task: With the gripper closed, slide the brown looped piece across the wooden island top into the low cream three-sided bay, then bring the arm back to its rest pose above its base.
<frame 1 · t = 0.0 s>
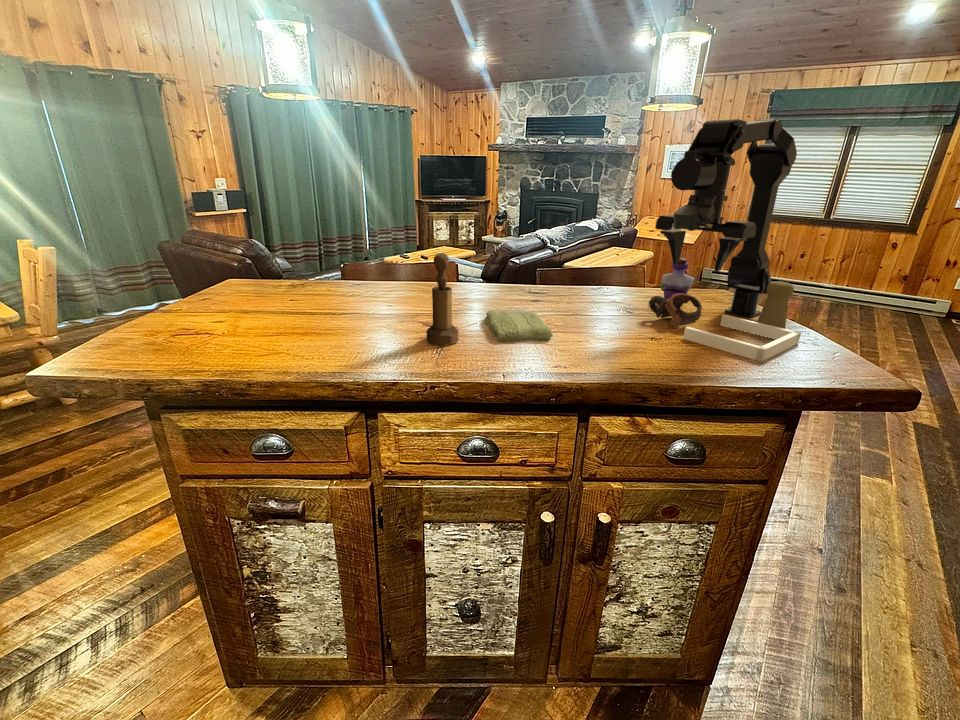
hand: (695, 268, 99), 15 cm above the countertop, tool pointing down, fingers open, 9 cm apart
brown looped piece: (671, 323, 113), on the countertop
washcloth: (516, 331, 106), on the countertop
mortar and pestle: (442, 341, 98), on the countertop
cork: (769, 329, 109), on the countertop
potion bottle: (673, 302, 131), on the countertop
cream bay: (737, 340, 101), on the countertop
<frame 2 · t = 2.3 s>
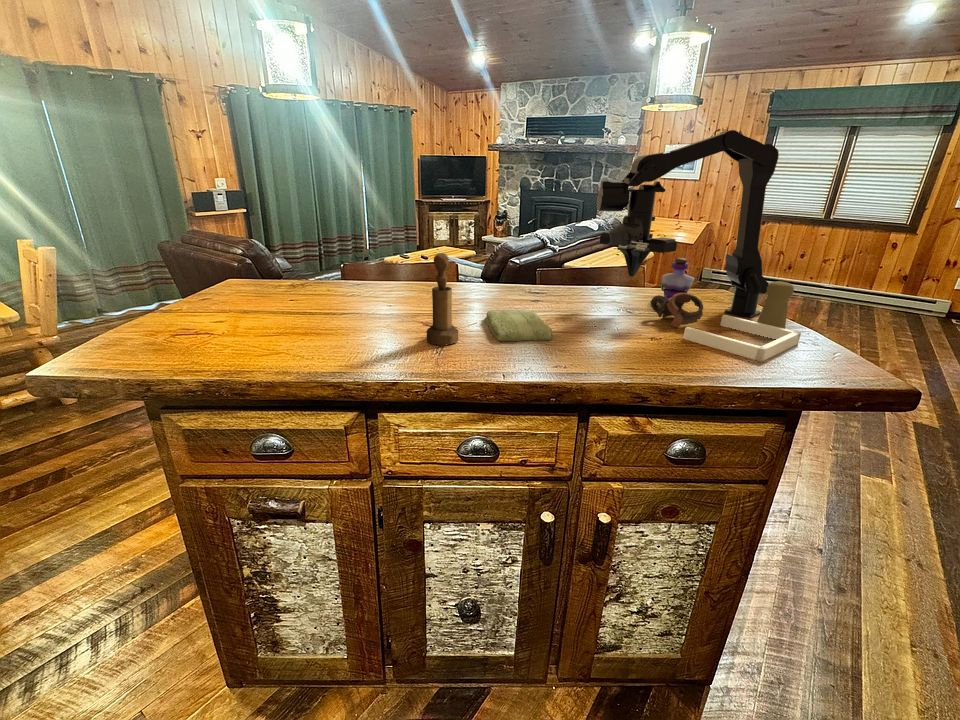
hand: (631, 276, 119), 9 cm above the countertop, tool pointing down, fingers closed
nothing on the countertop moved.
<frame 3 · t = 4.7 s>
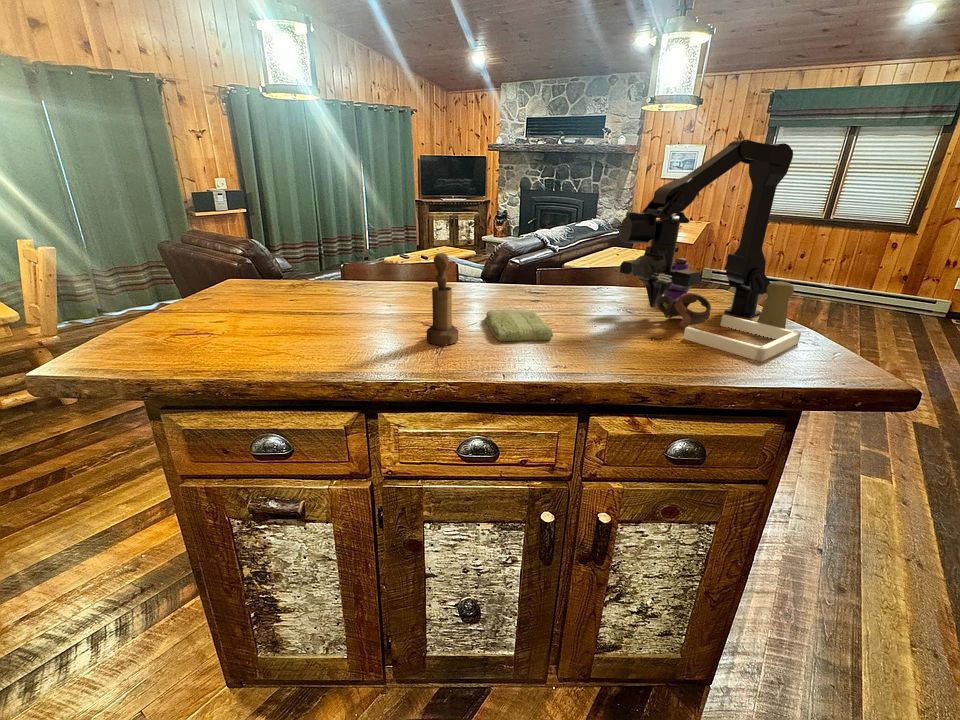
hand: (652, 307, 116), 3 cm above the countertop, tool pointing down, fingers closed
brown looped piece: (680, 323, 112), on the countertop, touching gripper
everything else where it was.
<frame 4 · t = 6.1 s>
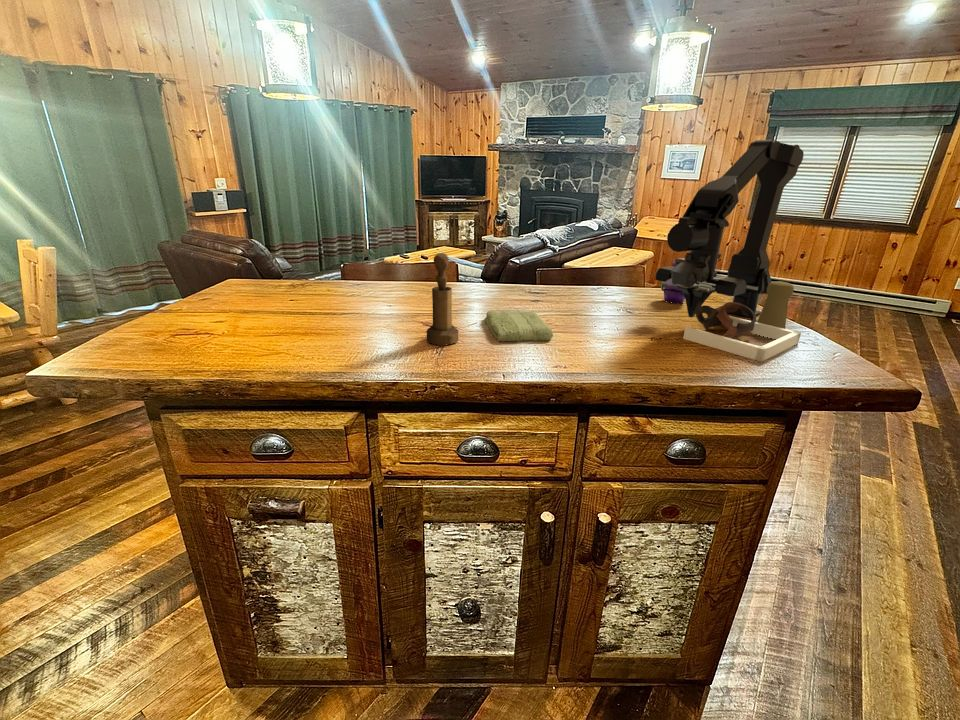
hand: (691, 316, 108), 3 cm above the countertop, tool pointing down, fingers closed
brown looped piece: (720, 334, 105), on the countertop, touching gripper
everything else where it was.
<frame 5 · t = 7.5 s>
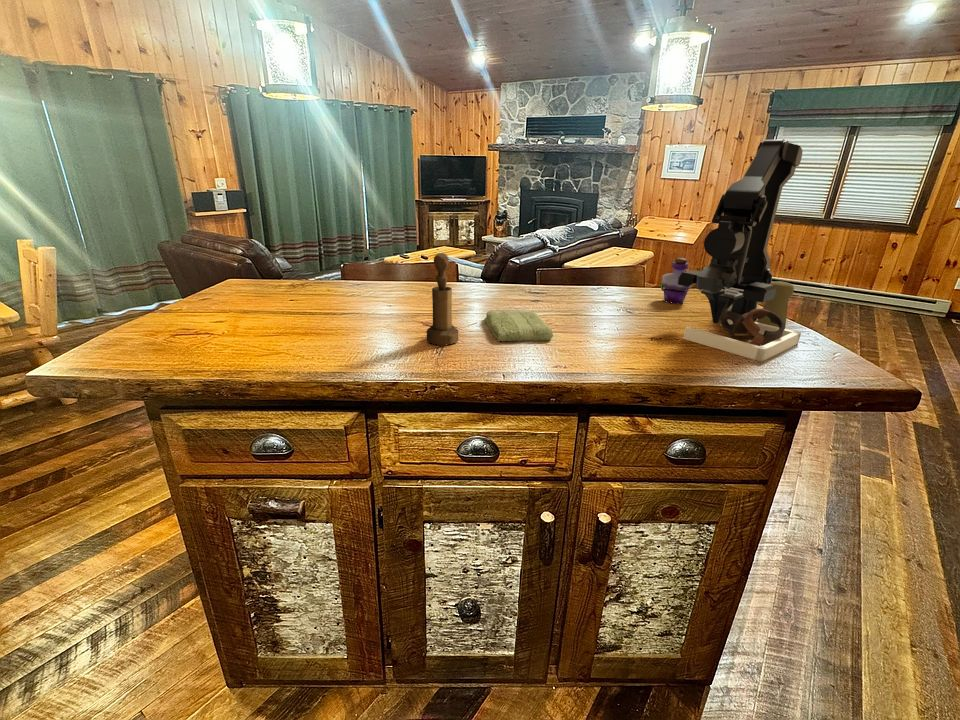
hand: (715, 323, 104), 3 cm above the countertop, tool pointing down, fingers closed
brown looped piece: (746, 342, 101), on the countertop, touching cream bay, gripper
everything else where it was.
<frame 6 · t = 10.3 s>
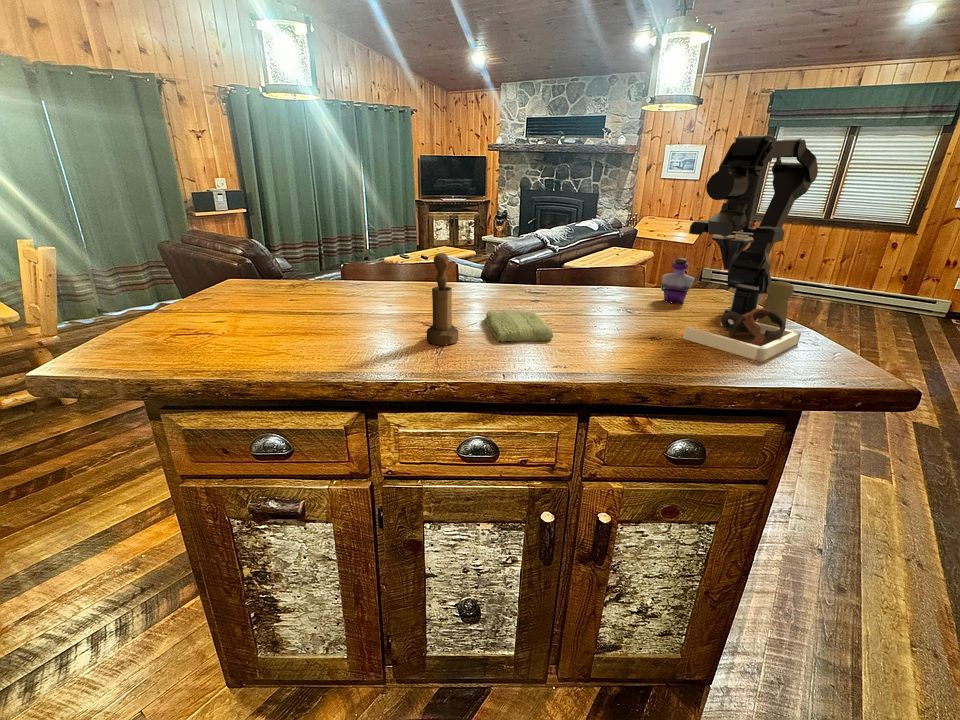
hand: (726, 269, 109), 13 cm above the countertop, tool pointing down, fingers closed
brown looped piece: (747, 342, 101), on the countertop
everything else where it was.
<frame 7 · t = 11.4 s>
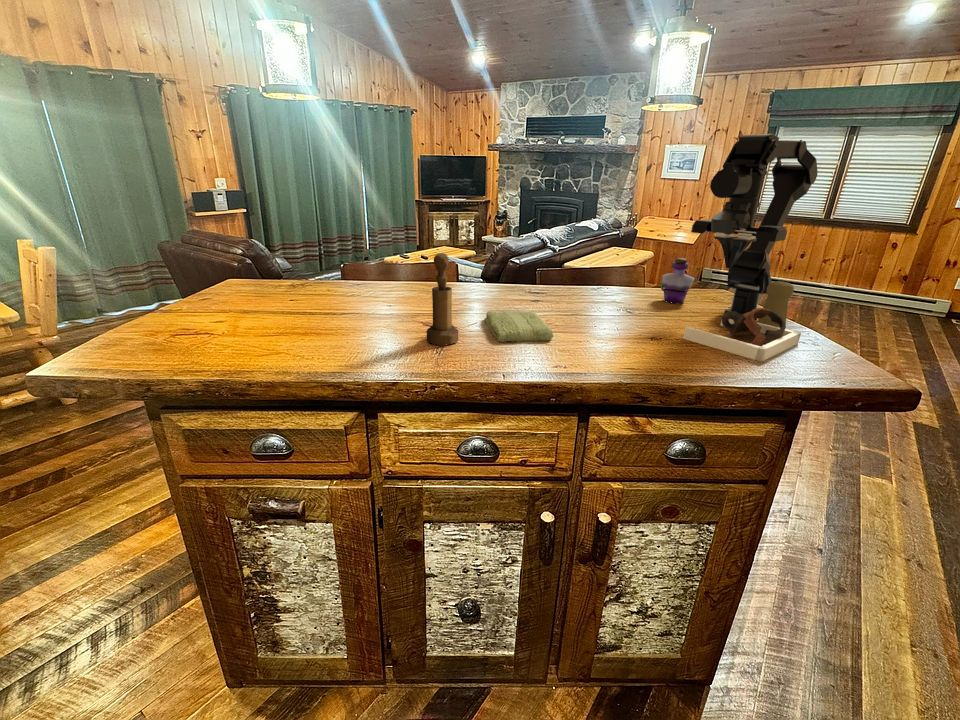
hand: (728, 268, 109), 13 cm above the countertop, tool pointing down, fingers closed
nothing on the countertop moved.
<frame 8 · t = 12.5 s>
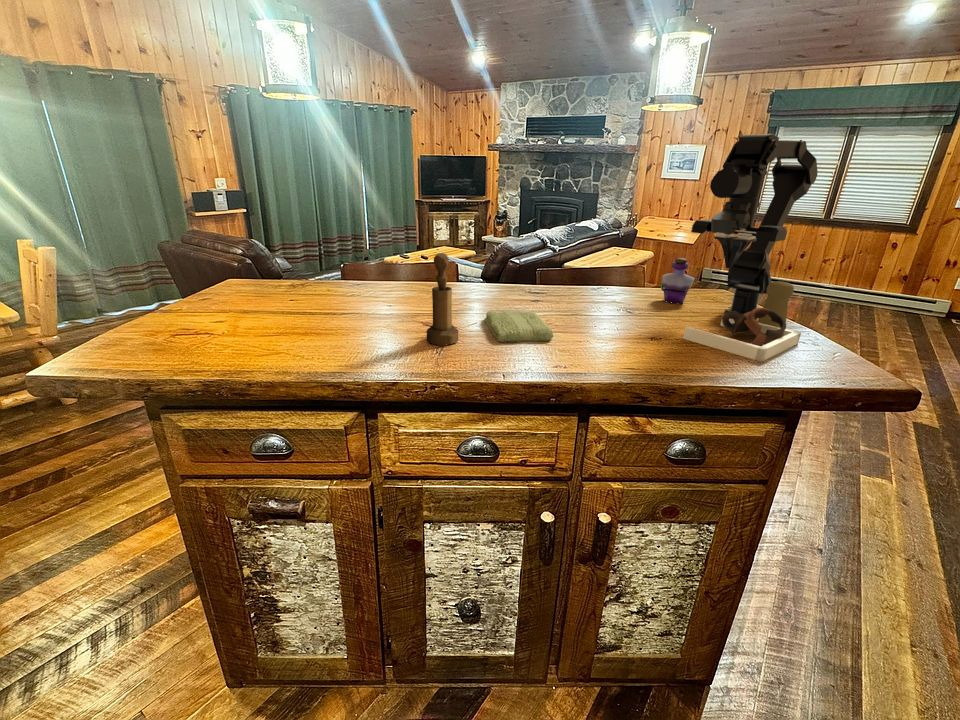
hand: (728, 268, 109), 13 cm above the countertop, tool pointing down, fingers closed
nothing on the countertop moved.
at the end: brown looped piece inside the target area on the cream bay (2.5 cm from its centre), point 0.0 cm above the cream bay's base; brown looped piece tilted 0°; brown looped piece moved 17.0 cm from its start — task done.
